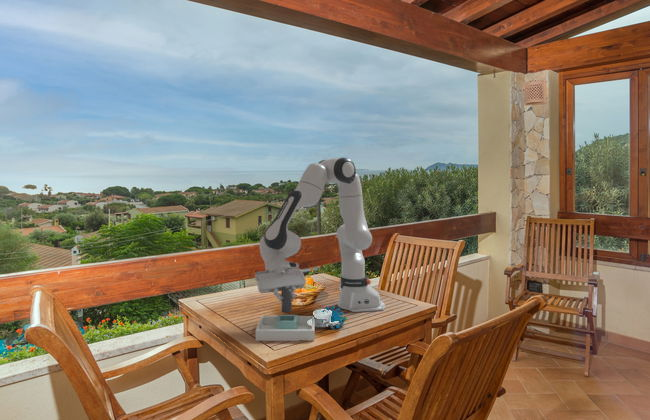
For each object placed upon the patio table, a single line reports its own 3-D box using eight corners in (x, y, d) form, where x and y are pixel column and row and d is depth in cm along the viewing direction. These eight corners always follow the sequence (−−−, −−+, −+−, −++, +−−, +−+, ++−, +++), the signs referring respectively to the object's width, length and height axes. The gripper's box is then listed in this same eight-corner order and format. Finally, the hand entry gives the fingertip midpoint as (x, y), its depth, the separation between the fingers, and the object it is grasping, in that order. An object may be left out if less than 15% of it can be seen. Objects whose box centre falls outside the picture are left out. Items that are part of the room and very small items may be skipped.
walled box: (314, 325, 170) (314, 313, 170) (314, 340, 154) (314, 327, 154) (261, 325, 170) (261, 313, 169) (255, 340, 154) (255, 327, 153)
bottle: (291, 309, 166) (292, 285, 165) (291, 312, 162) (291, 287, 161) (281, 309, 166) (282, 285, 165) (281, 312, 162) (281, 287, 161)
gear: (320, 326, 165) (321, 303, 171) (318, 332, 169) (319, 310, 176) (347, 329, 166) (347, 307, 172) (344, 335, 170) (345, 313, 177)
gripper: (255, 267, 163) (265, 298, 155) (301, 263, 174) (312, 291, 166) (251, 276, 167) (260, 306, 160) (296, 271, 178) (306, 299, 170)
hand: (287, 298), depth 163 cm, fingers closed on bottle, 4 cm apart
